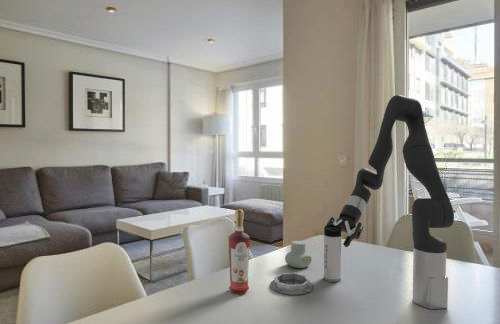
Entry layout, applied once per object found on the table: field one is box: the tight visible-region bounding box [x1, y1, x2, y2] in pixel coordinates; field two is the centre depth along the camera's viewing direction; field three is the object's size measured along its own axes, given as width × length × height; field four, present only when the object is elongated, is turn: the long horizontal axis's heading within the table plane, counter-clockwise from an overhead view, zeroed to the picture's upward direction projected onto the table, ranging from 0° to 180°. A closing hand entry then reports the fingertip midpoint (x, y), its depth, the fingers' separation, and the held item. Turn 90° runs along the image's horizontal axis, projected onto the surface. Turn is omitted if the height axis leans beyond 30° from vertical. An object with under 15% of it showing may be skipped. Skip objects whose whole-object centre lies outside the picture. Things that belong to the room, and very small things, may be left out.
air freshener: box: [284, 240, 313, 269], centre depth 143 cm, size 11×8×10 cm
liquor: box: [227, 209, 251, 295], centre depth 117 cm, size 7×7×28 cm
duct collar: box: [270, 272, 314, 296], centre depth 122 cm, size 15×15×3 cm
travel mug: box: [323, 224, 342, 283], centre depth 128 cm, size 6×7×20 cm
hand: (335, 243), depth 129 cm, fingers open, 8 cm apart
